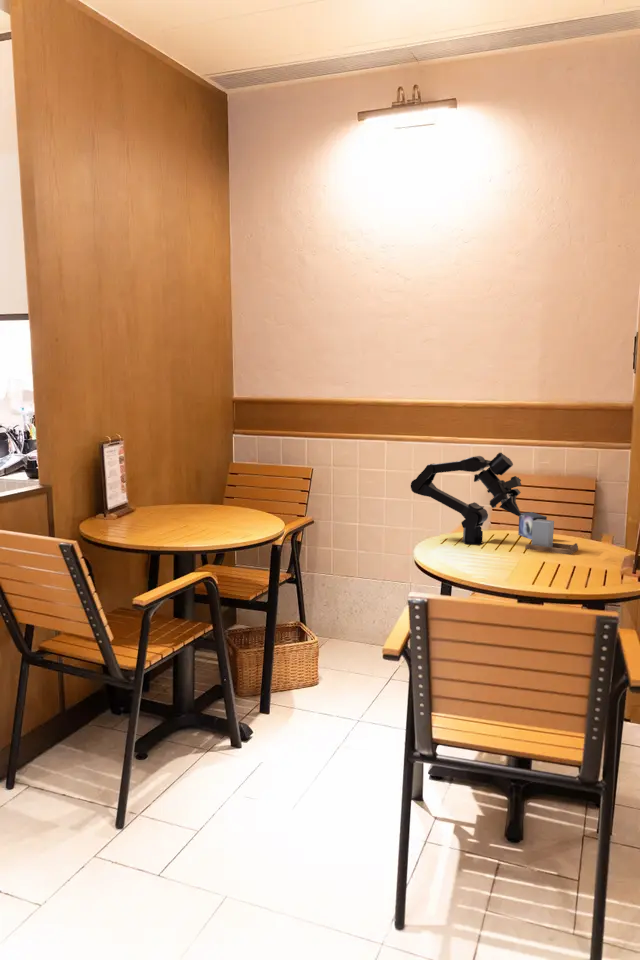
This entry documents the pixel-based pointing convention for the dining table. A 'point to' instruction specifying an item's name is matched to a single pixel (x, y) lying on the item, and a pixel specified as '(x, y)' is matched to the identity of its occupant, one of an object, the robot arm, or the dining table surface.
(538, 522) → the block
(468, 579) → the dining table surface
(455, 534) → the dining table surface
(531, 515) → the small box
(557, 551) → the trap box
